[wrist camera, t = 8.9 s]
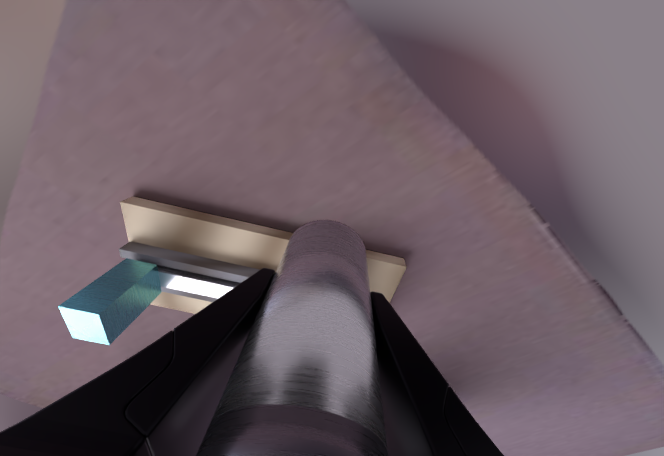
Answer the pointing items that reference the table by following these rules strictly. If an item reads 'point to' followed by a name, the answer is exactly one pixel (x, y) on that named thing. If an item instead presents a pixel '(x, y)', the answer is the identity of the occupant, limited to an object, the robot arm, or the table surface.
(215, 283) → the teal piece
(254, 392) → the grey white banded cylinder
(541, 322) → the table surface
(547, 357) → the table surface
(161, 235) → the board
